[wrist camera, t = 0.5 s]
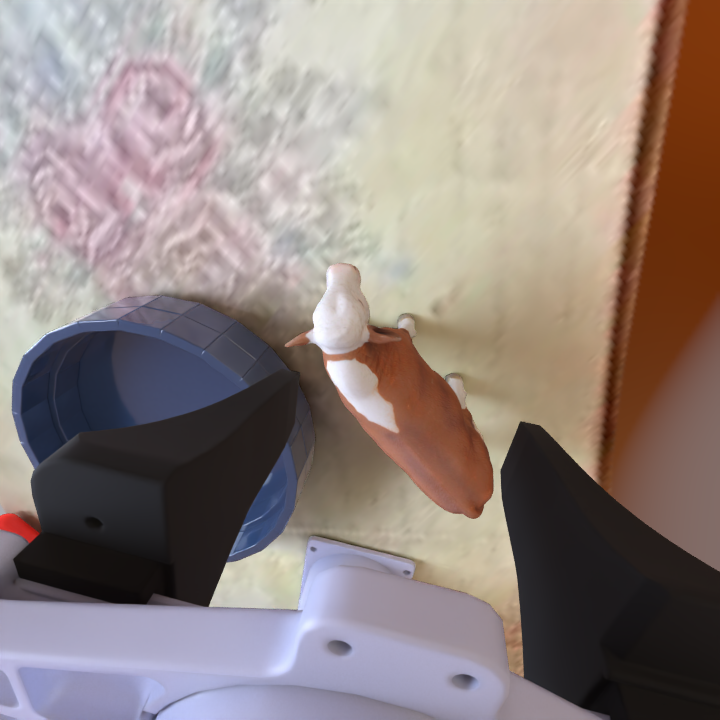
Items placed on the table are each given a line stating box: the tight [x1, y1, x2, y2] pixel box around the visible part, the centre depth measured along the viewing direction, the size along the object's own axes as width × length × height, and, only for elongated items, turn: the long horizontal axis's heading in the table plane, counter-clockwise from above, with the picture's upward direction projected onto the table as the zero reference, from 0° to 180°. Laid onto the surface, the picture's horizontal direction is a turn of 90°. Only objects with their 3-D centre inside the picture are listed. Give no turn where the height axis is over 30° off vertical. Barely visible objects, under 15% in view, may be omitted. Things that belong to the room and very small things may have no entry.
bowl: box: [12, 295, 315, 563], centre depth 27 cm, size 17×17×4 cm
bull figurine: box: [285, 263, 493, 519], centre depth 20 cm, size 4×13×8 cm, turn 32°
